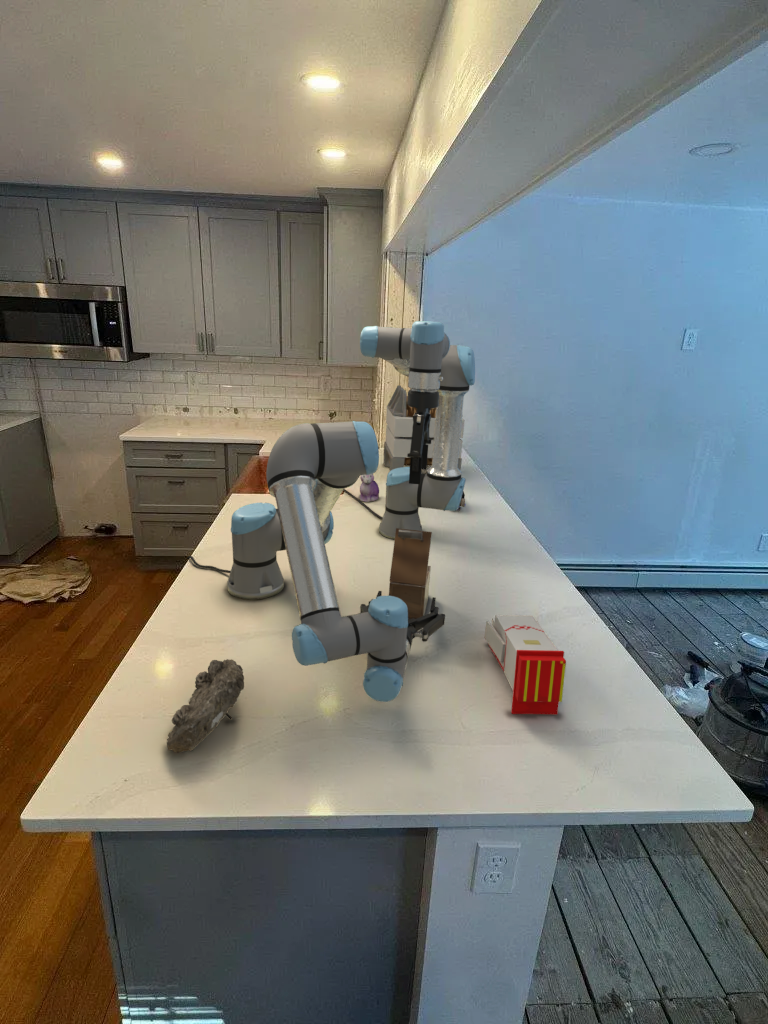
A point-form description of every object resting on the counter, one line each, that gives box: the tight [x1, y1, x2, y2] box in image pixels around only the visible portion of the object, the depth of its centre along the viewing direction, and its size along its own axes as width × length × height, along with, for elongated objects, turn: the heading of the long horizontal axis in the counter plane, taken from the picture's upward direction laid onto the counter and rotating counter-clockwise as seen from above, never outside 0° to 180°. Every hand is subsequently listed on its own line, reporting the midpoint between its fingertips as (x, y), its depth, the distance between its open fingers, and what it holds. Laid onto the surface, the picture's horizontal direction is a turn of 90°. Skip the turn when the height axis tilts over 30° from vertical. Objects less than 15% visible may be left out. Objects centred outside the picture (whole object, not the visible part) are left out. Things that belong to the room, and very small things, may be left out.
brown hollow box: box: [388, 565, 432, 620], centre depth 150 cm, size 13×9×10 cm
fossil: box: [166, 658, 245, 754], centre depth 106 cm, size 22×10×15 cm
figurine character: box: [457, 490, 466, 511], centre depth 229 cm, size 7×8×15 cm
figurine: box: [358, 473, 380, 503], centre depth 232 cm, size 9×10×15 cm
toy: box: [484, 614, 567, 716], centre depth 124 cm, size 12×13×30 cm
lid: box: [389, 528, 433, 586], centre depth 140 cm, size 14×9×9 cm
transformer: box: [383, 384, 465, 472], centre depth 268 cm, size 34×33×41 cm
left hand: (406, 598), depth 142 cm, fingers open, 13 cm apart
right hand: (418, 476), depth 142 cm, fingers open, 13 cm apart
